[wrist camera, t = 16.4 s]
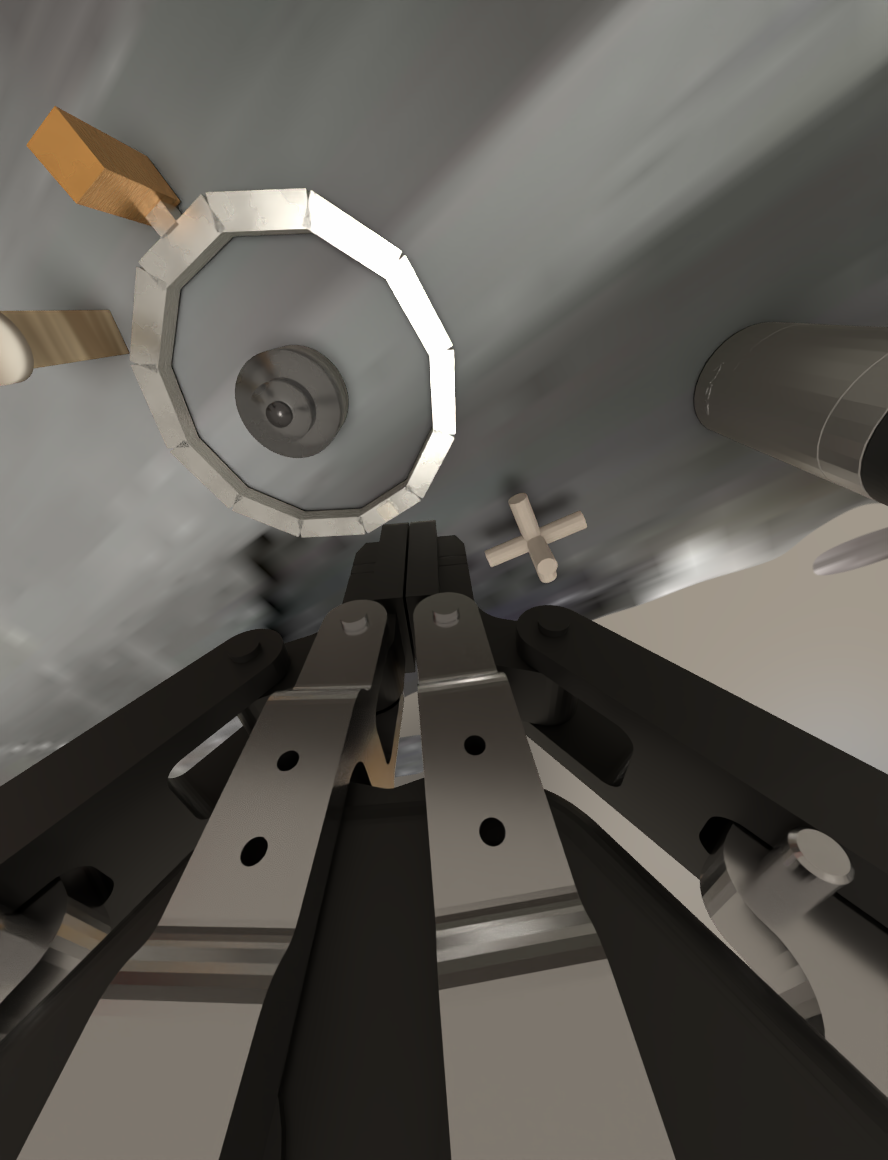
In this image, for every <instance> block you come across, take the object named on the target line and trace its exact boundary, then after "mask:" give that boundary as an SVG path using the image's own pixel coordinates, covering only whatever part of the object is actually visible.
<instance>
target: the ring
mask: <svg viewBox="0 0 888 1160" xmlns="http://www.w3.org/2000/svg"><path fill="white" fill-rule="evenodd" d="M26 146H27V147H28V148H29V149H30V150H31V151H32V153H33V154H34V155H35V156H36V157H37V158H38V159H39V161H40V162H41V163H42V164H43V165H44V166H45V168H46V169H47V170H48V171H49V172H50V173H51V175H52V176H53V177H54V178H55V179H56V180H57V182H58V183H59V184H60V185H61V186H62V187H63V188H64V190H65V191H66V192H67V193H68V194H69V195H70V197H71V198H72V199H73V200H74V201H75V202H76V203H77V204H80V205H83V206H87V207H90V208H93V209H97V210H100V211H103V212H107V213H110V214H113V215H116V216H120V217H123V218H126V219H130V220H133V221H136V222H140V223H143V224H146V225H150V226H152V227H153V228H154V229H155V230H156V232H157V233H158V234H159V235H160V237H161V238H160V239H159V240H158V241H157V242H156V243H155V244H154V246H153V247H152V248H151V249H150V250H149V251H148V252H147V253H146V254H145V255H144V256H143V257H142V258H141V260H140V261H139V263H140V265H141V266H142V267H136V280H135V294H134V307H133V321H132V335H131V349H130V360H131V361H133V362H135V363H137V364H133V365H131V367H132V369H133V371H134V374H135V376H136V378H137V381H138V383H139V385H140V387H141V390H142V392H143V394H144V397H145V399H146V401H147V403H148V406H149V408H150V410H151V413H152V415H153V417H154V419H155V422H156V424H157V426H158V429H159V431H160V433H161V435H162V438H163V440H164V442H165V445H166V447H167V448H174V449H173V450H172V451H170V453H171V454H172V455H173V456H174V457H176V458H177V459H178V460H179V461H180V462H181V463H182V464H183V465H184V466H185V467H186V468H187V469H188V470H189V471H190V472H191V473H192V474H193V475H194V476H195V477H196V478H197V479H199V480H200V481H201V482H202V483H203V484H204V485H205V486H206V487H207V488H208V489H209V490H210V491H211V492H212V493H213V494H214V495H215V496H216V497H217V498H218V499H219V500H220V501H222V502H223V503H224V504H225V505H226V506H227V507H228V508H230V507H232V506H233V505H234V506H233V510H232V511H234V512H237V513H239V514H242V515H244V516H247V517H249V518H252V519H255V520H257V521H260V522H262V523H265V524H267V525H270V526H272V527H275V528H277V529H280V530H282V531H285V532H287V533H290V534H292V535H295V536H297V537H299V535H300V533H301V536H302V537H321V536H339V535H358V534H365V532H366V531H367V532H368V533H369V532H371V531H373V530H374V529H376V528H377V527H379V526H381V525H382V524H384V523H386V522H387V521H389V520H390V519H392V518H394V517H395V516H397V515H398V514H400V513H402V512H403V511H405V510H407V509H408V508H410V507H411V506H413V505H415V504H416V503H418V502H420V501H421V498H423V497H424V495H425V493H426V491H427V490H428V488H429V486H430V484H431V482H432V480H433V478H434V476H435V474H436V472H437V471H438V469H439V467H440V465H441V463H442V461H443V459H444V457H445V455H446V453H447V452H448V450H449V448H450V446H451V444H452V442H453V440H454V438H455V437H454V434H456V428H455V375H454V349H453V348H450V347H451V346H452V343H451V341H450V339H449V337H448V335H447V333H446V331H445V329H444V327H443V326H442V324H441V322H440V320H439V318H438V316H437V314H436V312H435V310H434V309H433V307H432V305H431V303H430V301H429V299H428V297H427V295H426V293H425V291H424V290H423V288H422V286H421V284H420V282H419V280H418V278H417V276H416V274H415V273H414V271H413V269H412V267H411V265H410V263H409V261H408V259H407V257H406V255H405V256H404V257H402V254H403V253H402V251H401V250H400V249H398V248H397V247H395V246H394V245H392V244H391V243H389V242H388V241H386V240H385V239H383V238H382V237H380V236H379V235H377V234H376V233H374V232H373V231H371V230H370V229H368V228H367V227H365V226H364V225H362V224H361V223H359V222H358V221H356V220H355V219H353V218H352V217H350V216H349V215H347V214H346V213H344V212H343V211H341V210H340V209H339V208H337V207H336V206H334V205H333V204H331V203H330V202H328V201H327V200H325V199H324V198H322V197H321V196H319V195H318V194H316V193H315V192H313V191H312V190H311V192H309V191H308V190H307V189H306V188H301V189H276V190H251V191H226V192H206V195H207V197H205V196H203V195H200V196H199V197H198V198H197V199H196V200H195V201H194V202H193V204H192V205H191V206H190V207H189V208H188V209H187V210H186V211H185V212H184V213H183V214H181V213H180V211H179V210H178V209H177V207H176V206H177V205H178V204H179V203H180V202H181V201H180V200H179V199H178V197H177V196H176V195H175V193H174V192H173V191H172V189H171V188H170V187H169V185H168V184H167V183H166V181H165V180H164V179H163V177H162V176H161V175H160V173H159V172H158V171H157V169H156V168H155V167H154V165H153V164H152V162H151V161H150V160H149V158H148V157H147V156H145V155H144V154H142V153H140V152H138V151H136V150H134V149H133V148H131V147H129V146H127V145H125V144H123V143H122V142H120V141H118V140H116V139H114V138H112V137H111V136H109V135H107V134H105V133H103V132H102V131H100V130H98V129H96V128H94V127H92V126H91V125H89V124H87V123H85V122H83V121H81V120H80V119H78V118H76V117H74V116H72V115H71V114H69V113H67V112H65V111H63V110H61V109H60V108H58V107H56V106H54V108H53V109H52V110H51V112H50V113H49V115H48V116H47V117H46V119H45V120H44V121H43V123H42V124H41V126H40V127H39V128H38V130H37V131H36V132H35V134H34V135H33V137H32V138H31V139H30V141H29V142H28V144H27V145H26ZM305 233H314V234H316V235H318V236H319V237H321V238H322V239H324V240H325V241H327V242H329V243H330V244H332V245H333V246H335V247H336V248H338V249H340V250H341V251H343V252H344V253H346V254H347V255H349V256H350V257H352V258H354V259H355V260H357V261H358V262H360V263H361V264H363V265H365V266H366V267H368V268H369V269H371V270H372V271H374V272H376V273H377V274H379V275H380V276H382V277H383V278H385V279H386V280H387V282H388V283H389V285H390V287H391V289H392V290H393V292H394V294H395V296H396V297H397V299H398V301H399V303H400V305H401V306H402V308H403V310H404V312H405V313H406V315H407V317H408V319H409V320H410V322H411V324H412V326H413V328H414V329H415V331H416V333H417V335H418V336H419V338H420V340H421V342H422V343H423V345H424V347H425V349H426V350H427V352H428V354H429V357H430V376H431V396H432V416H433V427H432V429H431V431H430V433H429V435H428V437H427V439H426V441H425V443H424V445H423V447H422V449H421V451H420V453H419V455H418V457H417V459H416V461H415V463H414V465H413V468H412V470H411V472H410V474H409V476H408V478H407V479H406V480H405V481H403V482H402V483H400V484H399V485H397V486H396V487H394V488H393V489H391V490H389V491H388V492H386V493H385V494H383V495H382V496H380V497H379V498H377V499H375V500H374V501H372V502H371V503H369V504H368V505H366V506H365V507H363V508H361V509H345V510H325V511H306V512H305V511H303V510H300V509H298V508H296V507H293V506H291V505H289V504H286V503H284V502H281V501H279V500H277V499H274V498H272V497H269V496H267V495H265V494H262V493H260V492H257V491H255V490H253V489H250V488H248V487H247V486H246V485H245V484H244V483H243V482H242V481H241V480H240V479H239V478H238V477H237V476H236V475H235V474H234V473H233V472H232V471H231V470H230V469H229V468H228V467H227V466H226V465H225V464H224V463H223V462H222V461H221V460H220V459H219V458H218V457H217V455H216V454H215V453H214V452H213V451H212V450H211V449H210V448H209V447H208V446H207V445H206V444H205V443H204V442H203V441H202V440H201V439H200V438H199V437H198V435H197V432H196V429H195V427H194V424H193V422H192V419H191V416H190V414H189V411H188V409H187V406H186V403H185V401H184V398H183V396H182V393H181V391H180V388H179V385H178V383H177V380H176V378H175V375H174V372H173V370H172V367H171V361H172V353H173V345H174V337H175V329H176V321H177V313H178V305H179V297H180V289H181V288H182V287H183V286H184V285H185V284H186V283H187V282H188V281H189V280H190V279H191V278H192V277H193V276H194V275H195V274H196V273H197V272H198V271H199V270H200V269H201V268H202V267H203V266H204V265H205V264H206V263H207V262H208V261H209V260H210V259H211V258H212V257H213V256H214V255H215V254H216V253H217V252H218V251H219V250H220V249H221V248H222V247H223V246H224V245H225V244H226V243H227V242H228V241H229V240H230V239H231V238H232V237H233V236H257V235H281V234H305ZM401 257H402V258H401Z"/></svg>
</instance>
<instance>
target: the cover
mask: <svg viewBox="0 0 888 1160" xmlns="http://www.w3.org/2000/svg"><path fill="white" fill-rule="evenodd" d="M235 399H236V405H237V409H238V412H239V415H240V417H241V419H242V421H243V423H244V425H245V426H246V428H247V429H248V431H249V432H250V433H251V435H252V436H253V437H254V438H255V439H256V440H257V441H258V442H259V443H261V444H262V445H263V446H265V447H266V448H268V449H269V450H271V451H273V452H275V453H277V454H280V455H283V456H287V457H293V458H304V457H309V456H313V455H315V454H317V453H319V452H321V451H322V450H324V449H325V448H326V447H327V446H328V445H329V444H330V443H331V441H332V440H333V438H334V437H335V435H336V434H337V432H338V431H339V430H340V428H341V427H342V425H343V423H344V421H345V419H346V416H347V413H348V392H347V388H346V385H345V382H344V380H343V378H342V376H341V374H340V373H339V371H338V369H337V368H336V367H335V366H334V364H333V363H332V362H331V361H330V360H329V359H328V358H326V357H325V356H324V355H322V354H321V353H319V352H318V351H316V350H314V349H311V348H309V347H305V346H300V345H288V346H283V347H280V348H276V349H272V350H269V351H265V352H262V353H259V354H257V355H255V356H253V357H252V358H251V359H250V360H248V361H247V362H246V363H245V365H244V366H243V367H242V369H241V370H240V372H239V375H238V377H237V381H236V386H235Z"/></svg>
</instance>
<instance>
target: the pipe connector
mask: <svg viewBox="0 0 888 1160" xmlns="http://www.w3.org/2000/svg"><path fill="white" fill-rule="evenodd" d="M508 503H509V505H510V508H511V510H512V513H513V515H514V517H515V520H516V522H517V525H518V527H519V530H520V532H521V534H522V535H521V536H519V537H516V538H514V539H512V540H509V541H507V542H505V543H502V544H500V545H498V546H495V547H493V548H491V549H488V550H486V551H485V554H486V557H487V560H488V562H489V564H490V566H491V567H493V566H496V565H498V564H501V563H503V562H505V561H508V560H510V559H513V558H515V557H517V556H520V555H522V554H525V553H527V552H529V554H530V556H531V559H532V561H533V563H534V566H535V568H536V571H537V573H538V576H539V578H540V580H541V581H542V582H544V583H548V582H551V581H553V580H555V578H556V577H557V573H556V569H557V566H558V565H557V562H556V560H555V558H554V556H553V554H552V552H551V550H550V548H549V547H548V545H547V544H549V543H551V542H554V541H556V540H558V539H561V538H563V537H566V536H568V535H570V534H573V533H575V532H578V531H580V530H582V529H585V528H587V524H586V521H585V518H584V516H583V514H582V513H581V511H577V512H575V513H572V514H570V515H568V516H565V517H563V518H561V519H558V520H556V521H554V522H551V523H549V524H547V525H544V526H542V527H540V528H539V526H538V523H537V520H536V518H535V515H534V512H533V510H532V507H531V504H530V502H529V499H528V496H527V494H525V493H519V494H516V495H514V496H513V497H511V498H510V499H509V502H508Z"/></svg>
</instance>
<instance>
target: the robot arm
mask: <svg viewBox="0 0 888 1160" xmlns="http://www.w3.org/2000/svg"><path fill="white" fill-rule="evenodd" d="M694 404H695V411H696V414H697V417H698V419H699V420H700V422H701V423H702V424H703V425H704V426H705V427H706V428H707V429H709V430H712V431H714V432H716V433H718V434H721V435H723V436H725V437H728V438H730V439H732V440H734V441H736V442H738V443H741V444H743V445H745V446H748V447H750V448H752V449H755V450H757V451H760V452H762V453H764V454H767V455H769V456H771V457H774V458H776V459H778V460H781V461H783V462H785V463H788V464H790V465H792V466H795V467H797V468H799V469H802V470H804V471H806V472H809V473H811V474H813V475H816V476H818V477H820V478H823V479H825V480H827V481H830V482H832V483H834V484H837V485H840V486H842V487H844V488H847V489H849V490H851V491H854V492H856V493H858V494H861V495H863V496H865V497H868V498H870V499H872V500H875V501H878V502H880V503H882V504H885V505H887V506H888V327H871V326H849V325H826V324H809V323H785V322H765V323H759V324H755V325H752V326H749V327H747V328H745V329H743V330H741V331H739V332H737V333H736V334H735V335H733V336H732V337H731V338H729V339H728V340H727V341H725V342H724V343H723V344H722V345H721V346H720V347H719V348H718V349H717V350H716V351H715V353H714V354H713V355H712V357H711V358H710V359H709V361H708V362H707V363H706V365H705V367H704V369H703V371H702V373H701V374H700V377H699V380H698V383H697V385H696V390H695V396H694ZM415 662H416V663H417V669H418V678H419V684H417V691H418V704H419V716H420V730H421V743H422V755H423V768H424V778H422V779H419V780H416V781H413V782H411V783H408V784H405V785H402V786H399V787H396V788H395V787H394V776H395V766H396V759H397V751H398V744H399V737H400V729H401V722H402V714H403V708H404V694H403V689H404V677H405V673H411V672H415ZM236 716H238V718H239V719H240V721H241V723H242V724H243V726H242V727H241V728H240V729H239V730H238V731H236V732H235V733H234V734H233V735H231V736H230V737H229V738H228V739H227V740H225V741H224V742H223V743H222V744H220V745H219V746H218V747H217V748H216V749H214V750H213V751H212V752H211V753H209V754H208V755H207V756H206V757H205V758H203V759H202V760H201V761H200V762H198V763H197V764H196V765H195V766H194V767H192V768H191V769H190V770H189V771H187V772H186V773H184V774H183V775H181V776H179V777H176V778H168V776H169V773H170V772H171V770H172V769H173V767H174V766H175V765H176V764H177V763H178V762H179V761H180V760H181V759H182V758H184V757H185V756H186V755H187V754H189V753H190V752H191V751H193V750H194V749H195V748H196V747H198V746H199V745H200V744H201V743H203V742H204V741H205V740H206V739H208V738H209V737H210V736H212V735H213V734H214V733H215V732H217V731H218V730H219V729H220V728H222V727H223V726H224V725H225V724H227V723H228V722H229V721H231V720H232V719H233V718H234V717H236ZM526 735H527V736H528V737H529V738H531V740H533V741H534V742H535V743H536V744H538V745H539V746H540V747H541V748H543V750H545V751H546V752H547V753H548V754H549V755H551V756H552V757H553V758H554V759H555V760H557V761H558V762H559V763H560V764H561V765H563V766H564V767H565V768H566V769H568V770H569V771H570V772H571V773H572V774H573V775H575V776H576V777H577V778H578V779H579V780H581V781H582V782H583V783H584V784H585V785H587V786H588V787H589V788H590V789H592V790H593V791H594V792H595V793H596V794H597V795H599V796H600V797H601V798H602V799H603V800H605V801H606V802H607V803H608V804H609V805H611V806H612V807H613V808H614V809H616V810H617V811H618V812H619V813H620V814H621V815H623V816H624V817H625V818H626V819H627V820H629V821H630V822H631V823H632V824H633V825H634V826H636V827H637V828H638V829H639V830H641V831H642V832H643V833H644V834H645V835H646V836H648V837H649V838H650V839H651V840H653V841H654V842H655V843H656V844H657V845H658V846H660V847H661V848H662V849H663V850H665V851H666V852H667V853H668V854H669V855H671V856H672V857H673V858H674V859H675V860H676V861H678V862H679V863H680V864H681V865H683V866H684V867H685V868H686V869H687V870H688V871H690V872H691V873H692V874H693V875H694V876H696V877H697V878H698V879H699V880H700V889H701V895H702V899H703V902H704V905H705V907H706V910H707V912H708V914H709V916H710V918H711V920H712V921H713V923H714V925H715V926H716V928H717V929H718V931H719V932H720V933H721V934H722V936H723V937H724V938H725V940H726V941H727V942H728V943H729V944H730V945H731V946H732V947H733V948H734V949H735V950H736V951H737V952H738V954H739V955H740V956H741V957H742V958H743V959H744V960H745V961H746V963H747V964H748V965H749V966H748V965H747V964H745V963H744V962H743V961H742V960H741V959H740V958H739V957H738V956H737V955H736V954H735V953H734V952H733V951H732V950H731V949H729V948H728V947H727V946H726V945H725V944H724V943H723V942H722V941H721V940H720V939H719V938H718V937H717V936H716V935H715V934H714V933H712V932H711V931H710V930H709V929H708V928H707V927H706V926H705V925H704V924H703V923H702V922H701V921H700V920H698V918H697V917H695V915H693V914H692V913H691V912H690V911H689V910H688V909H687V908H686V907H685V906H684V905H683V904H682V903H681V902H680V901H679V900H678V899H676V898H675V897H674V896H673V895H672V894H671V893H670V892H669V891H668V890H667V889H666V888H665V887H664V886H663V885H662V884H661V883H659V882H658V881H657V880H656V879H655V878H654V877H653V876H652V875H651V874H650V873H649V872H648V871H647V870H646V869H645V868H644V867H642V866H641V865H640V864H639V863H638V862H637V861H636V860H635V859H634V858H633V857H632V856H631V855H630V854H629V853H628V852H627V851H626V850H624V849H623V848H622V847H621V846H620V845H619V844H618V843H617V842H616V841H615V840H614V839H613V838H612V837H611V836H610V835H609V834H607V833H606V832H605V831H604V830H603V829H602V828H601V827H600V826H599V825H598V824H597V823H596V822H595V821H594V820H592V819H591V818H590V817H589V816H588V815H587V814H585V813H584V812H583V811H581V810H580V809H579V808H577V807H576V806H575V805H573V804H572V803H570V802H568V801H567V800H565V799H563V798H562V797H560V796H558V795H556V794H554V793H552V792H550V791H548V790H545V789H543V786H542V783H541V780H540V777H539V773H538V770H537V767H536V765H535V761H534V759H533V755H532V752H531V749H530V746H529V743H528V740H527V737H526ZM0 1160H888V774H886V773H884V772H882V771H880V770H878V769H876V768H874V767H872V766H870V765H868V764H866V763H865V762H863V761H861V760H859V759H857V758H855V757H853V756H851V755H849V754H847V753H845V752H844V751H842V750H840V749H838V748H835V747H834V746H832V745H830V744H828V743H826V742H824V741H822V740H820V739H818V738H817V737H815V736H813V735H811V734H809V733H807V732H805V731H803V730H801V729H799V728H797V727H795V726H794V725H792V724H790V723H788V722H786V721H784V720H782V719H780V718H778V717H776V716H774V715H772V714H770V713H768V712H767V711H765V710H763V709H761V708H759V707H757V706H755V705H753V704H751V703H749V702H747V701H745V700H743V699H742V698H740V697H738V696H736V695H734V694H732V693H730V692H728V691H726V690H724V689H722V688H720V687H718V686H716V685H715V684H713V683H711V682H709V681H707V680H705V679H703V678H701V677H699V676H697V675H695V674H693V673H691V672H690V671H688V670H686V669H684V668H682V667H680V666H678V665H676V664H674V663H672V662H670V661H668V660H667V659H664V658H663V657H661V656H659V655H657V654H655V653H653V652H651V651H649V650H647V649H645V648H643V647H641V646H640V645H638V644H636V643H634V642H632V641H630V640H628V639H626V638H624V637H622V636H620V635H618V634H616V633H615V632H613V631H611V630H609V629H607V628H605V627H603V626H601V625H599V624H597V623H595V622H593V621H591V620H590V619H588V618H586V617H584V616H582V615H580V614H578V613H576V612H574V611H572V610H570V609H567V608H564V607H560V606H553V605H543V606H537V607H533V608H531V609H529V610H527V611H525V612H524V613H523V614H522V615H521V616H520V617H519V619H518V621H513V620H506V619H501V618H496V617H493V616H491V615H489V614H487V613H485V612H483V611H482V610H481V609H480V608H479V607H478V606H477V604H476V603H475V601H474V598H473V592H472V587H471V581H470V575H469V569H468V564H467V558H466V552H465V546H464V543H463V542H462V541H461V540H460V539H459V538H457V537H456V536H455V535H452V536H441V537H437V531H436V521H435V520H429V521H418V522H410V526H409V523H396V524H385V525H383V526H382V531H381V536H380V542H373V543H366V544H365V545H364V546H363V547H362V548H361V549H360V550H359V551H358V552H357V553H356V556H355V559H354V563H353V567H352V570H351V576H350V578H349V581H348V585H347V589H346V592H345V596H344V600H343V603H342V604H341V605H339V606H337V607H336V608H334V609H333V610H331V611H330V612H329V613H328V614H327V615H326V617H325V618H324V620H323V622H322V624H321V626H320V629H319V631H318V632H317V633H315V634H313V635H310V636H307V637H304V638H300V639H297V640H294V641H291V642H288V643H284V642H283V639H282V637H281V636H280V634H278V633H277V632H275V631H273V630H269V629H255V630H250V631H246V632H243V633H241V634H238V635H236V636H234V637H232V638H230V639H229V640H227V641H226V642H224V643H222V644H221V645H219V646H218V647H216V648H215V649H213V650H212V651H210V652H208V653H207V654H205V655H204V656H202V657H201V658H199V659H198V660H196V661H194V662H193V663H191V664H190V665H188V666H187V667H185V668H184V669H182V670H181V671H179V672H177V673H176V674H174V675H173V676H171V677H170V678H168V679H167V680H165V681H163V682H162V683H160V684H159V685H157V686H156V687H154V688H153V689H151V690H149V691H148V692H146V693H145V694H143V695H142V696H140V697H139V698H137V699H136V700H134V701H132V702H131V703H129V704H128V705H126V706H125V707H123V708H122V709H120V710H118V711H117V712H115V713H114V714H112V715H111V716H109V717H108V718H106V719H104V720H103V721H101V722H100V723H98V724H97V725H95V726H94V727H92V728H91V729H89V730H87V731H86V732H84V733H83V734H81V735H80V736H78V737H77V738H75V739H73V740H72V741H70V742H69V743H67V744H66V745H64V746H63V747H61V748H59V749H58V750H56V751H55V752H53V753H52V754H50V755H49V756H47V757H45V758H44V759H42V760H41V761H39V762H38V763H36V764H35V765H33V766H32V767H30V768H28V769H27V770H25V771H24V772H22V773H21V774H19V775H18V776H16V777H14V778H13V779H11V780H10V781H8V782H7V783H5V784H4V785H2V786H0Z"/></svg>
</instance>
